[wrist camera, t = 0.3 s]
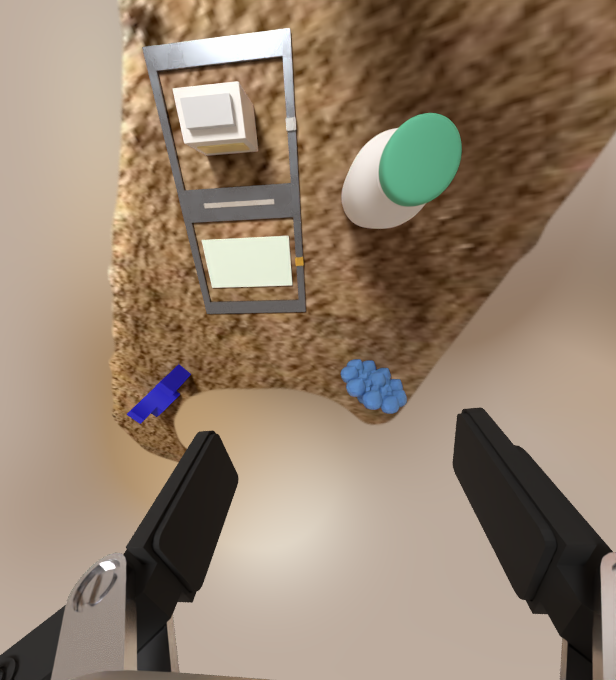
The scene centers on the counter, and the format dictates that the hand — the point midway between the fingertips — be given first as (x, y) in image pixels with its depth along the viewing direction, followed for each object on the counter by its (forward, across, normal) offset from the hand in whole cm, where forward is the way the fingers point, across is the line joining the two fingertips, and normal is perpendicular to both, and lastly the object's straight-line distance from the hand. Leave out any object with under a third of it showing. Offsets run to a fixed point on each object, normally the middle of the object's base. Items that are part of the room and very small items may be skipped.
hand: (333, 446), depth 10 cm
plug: (+31, +10, -21) cm, 39 cm away
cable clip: (+31, +35, +16) cm, 50 cm away
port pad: (+31, +12, -5) cm, 34 cm away
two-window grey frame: (+31, +11, -13) cm, 35 cm away
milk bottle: (+31, -7, -10) cm, 34 cm away
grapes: (+31, -4, +17) cm, 36 cm away
